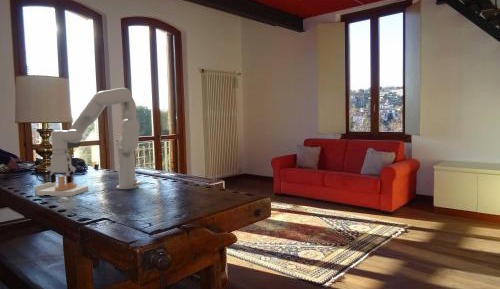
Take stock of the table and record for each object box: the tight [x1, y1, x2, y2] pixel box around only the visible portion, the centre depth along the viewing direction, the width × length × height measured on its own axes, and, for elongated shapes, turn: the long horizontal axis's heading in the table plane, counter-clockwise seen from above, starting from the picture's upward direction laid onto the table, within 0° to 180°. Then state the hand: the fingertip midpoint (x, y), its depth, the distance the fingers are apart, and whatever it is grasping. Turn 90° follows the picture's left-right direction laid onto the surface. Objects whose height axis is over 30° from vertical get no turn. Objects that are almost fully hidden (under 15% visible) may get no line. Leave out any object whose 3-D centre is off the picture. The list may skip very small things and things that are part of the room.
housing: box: [34, 174, 89, 197], centre depth 209 cm, size 22×16×10 cm
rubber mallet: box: [67, 141, 81, 182], centre depth 241 cm, size 12×8×30 cm, turn 140°
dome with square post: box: [55, 175, 69, 191], centre depth 205 cm, size 7×7×10 cm
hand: (61, 182), depth 205 cm, fingers open, 9 cm apart
